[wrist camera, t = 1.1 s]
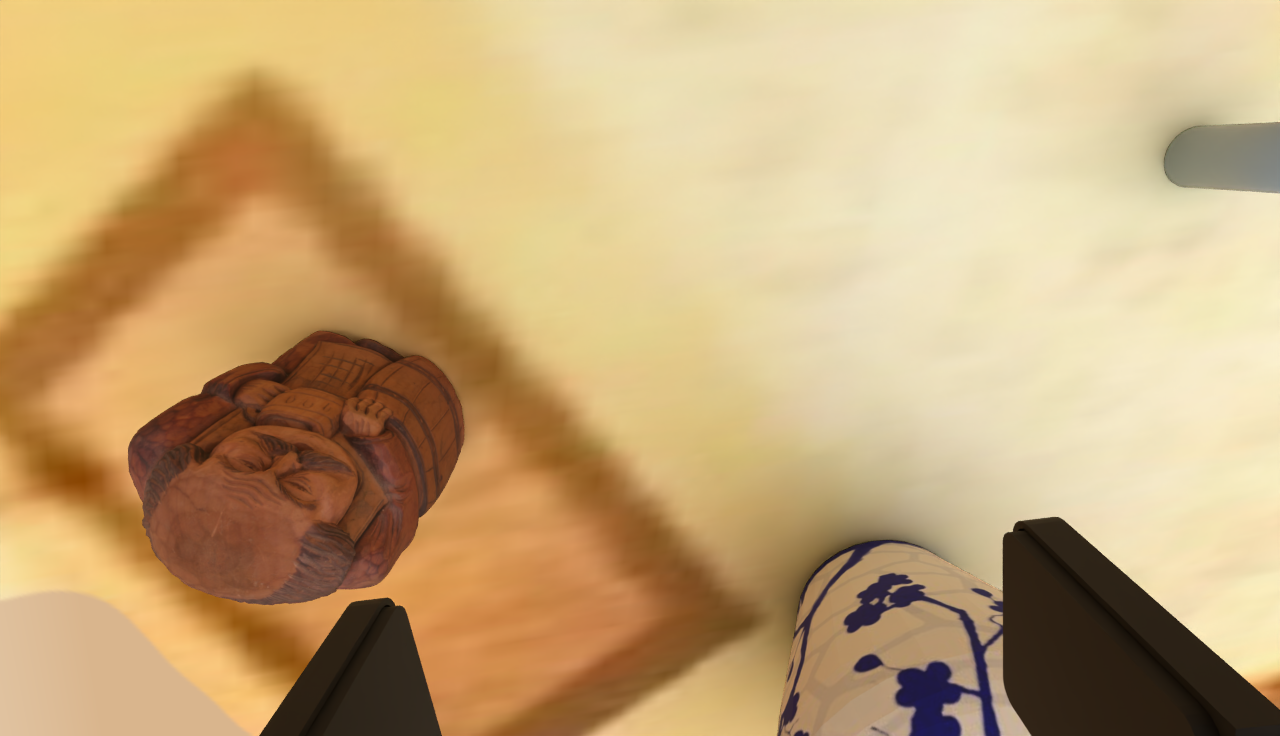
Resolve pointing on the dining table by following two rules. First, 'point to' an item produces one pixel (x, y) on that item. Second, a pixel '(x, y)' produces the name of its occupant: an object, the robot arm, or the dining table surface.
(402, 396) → the wooden figurine
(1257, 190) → the peg
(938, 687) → the vase
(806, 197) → the dining table surface
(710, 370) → the dining table surface
